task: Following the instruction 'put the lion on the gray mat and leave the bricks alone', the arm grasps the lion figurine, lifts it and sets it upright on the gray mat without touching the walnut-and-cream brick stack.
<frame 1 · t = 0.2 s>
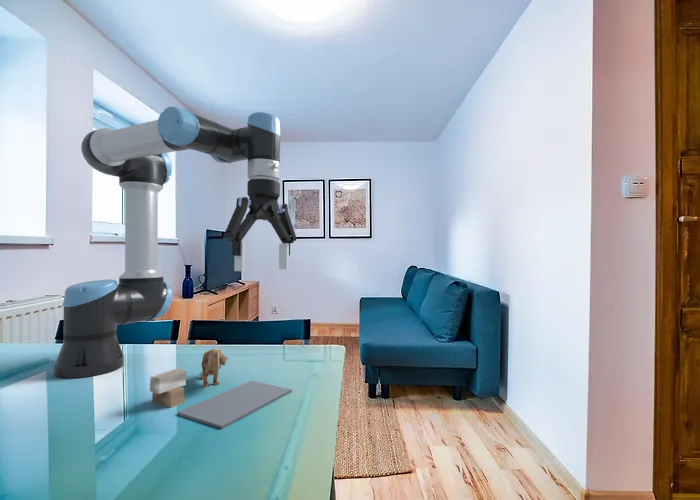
hand: (263, 270, 86), 27 cm above the table, fingers open, 13 cm apart
gray mat: (239, 402, 76), on the table
brick stack: (168, 402, 76), on the table
lion figurine: (211, 382, 88), on the table
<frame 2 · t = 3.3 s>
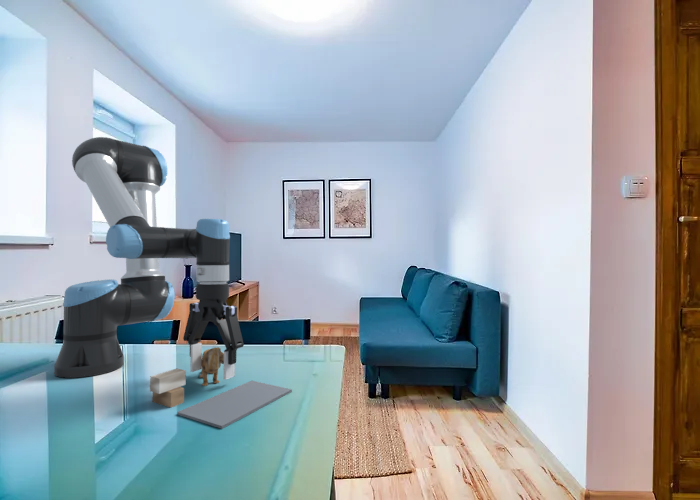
hand: (212, 373, 88), 2 cm above the table, fingers closed on lion figurine, 11 cm apart
lion figurine: (211, 380, 89), on the table, touching gripper
everything else where it was.
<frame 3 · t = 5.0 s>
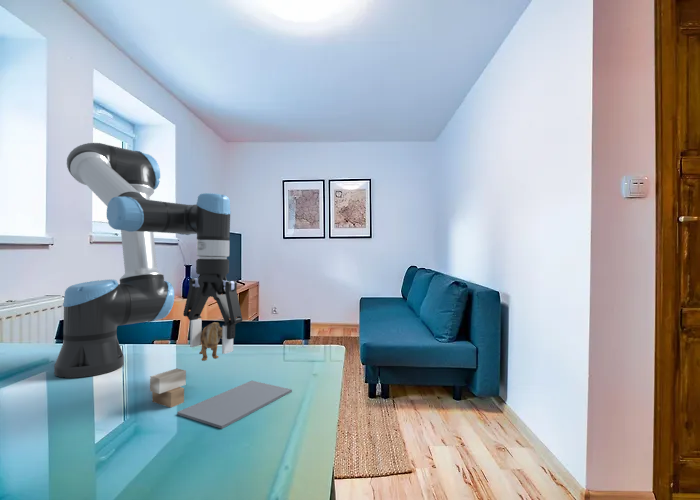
hand: (211, 349, 89), 8 cm above the table, fingers closed on lion figurine, 10 cm apart
lion figurine: (211, 356, 90), point 6 cm above the table, touching gripper
everything else where it was.
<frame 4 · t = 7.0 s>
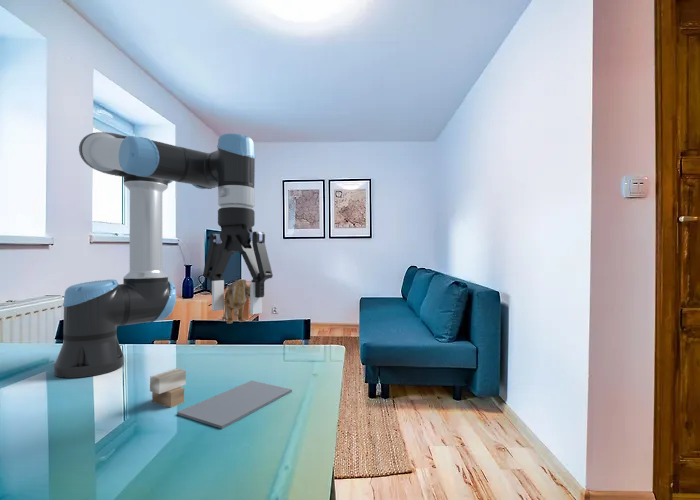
hand: (236, 311, 78), 19 cm above the table, fingers closed on lion figurine, 10 cm apart
lion figurine: (236, 321, 79), point 16 cm above the table, touching gripper
everything else where it was.
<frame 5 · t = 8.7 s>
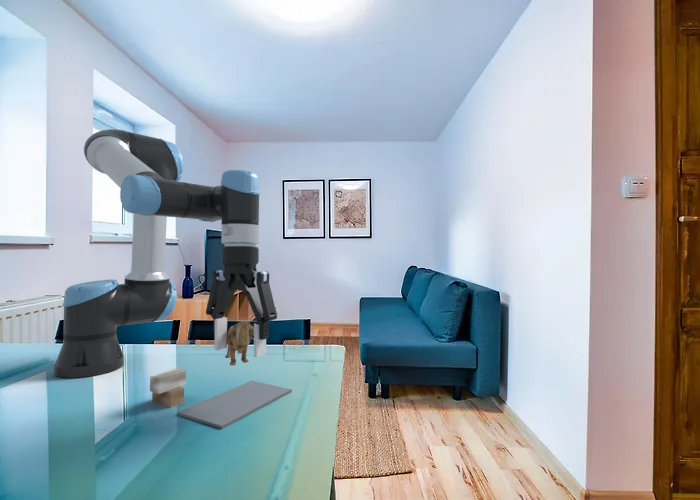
hand: (239, 351, 76), 10 cm above the table, fingers closed on lion figurine, 10 cm apart
lion figurine: (239, 360, 77), point 8 cm above the table, touching gripper
everything else where it was.
when the fingers open (4 cm above the table, at t = 10.5 s): lion figurine drops 1 cm, resting on gray mat.
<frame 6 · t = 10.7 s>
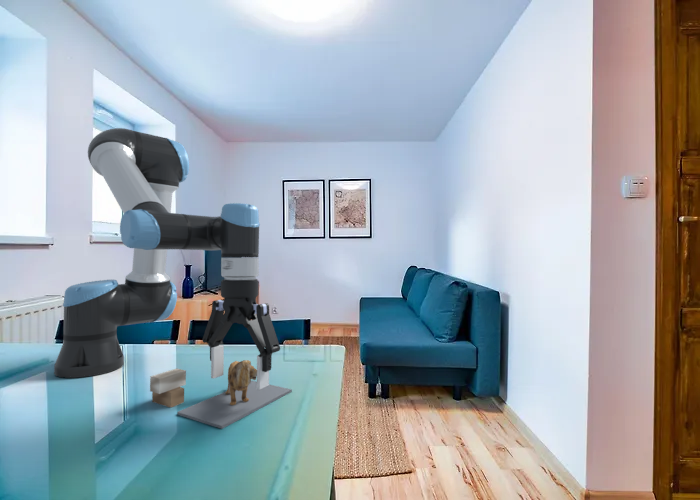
hand: (239, 381, 76), 4 cm above the table, fingers open, 12 cm apart
lion figurine: (239, 398, 77), resting on gray mat
everything else where it was.
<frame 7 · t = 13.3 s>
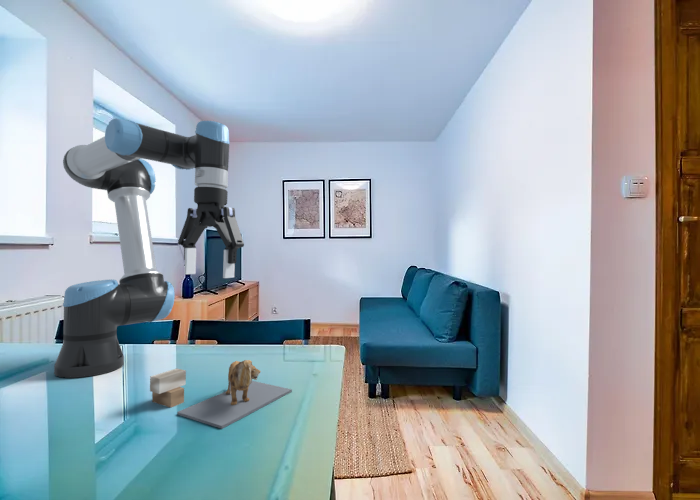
hand: (208, 276, 88), 26 cm above the table, fingers open, 13 cm apart
nothing on the table moved.
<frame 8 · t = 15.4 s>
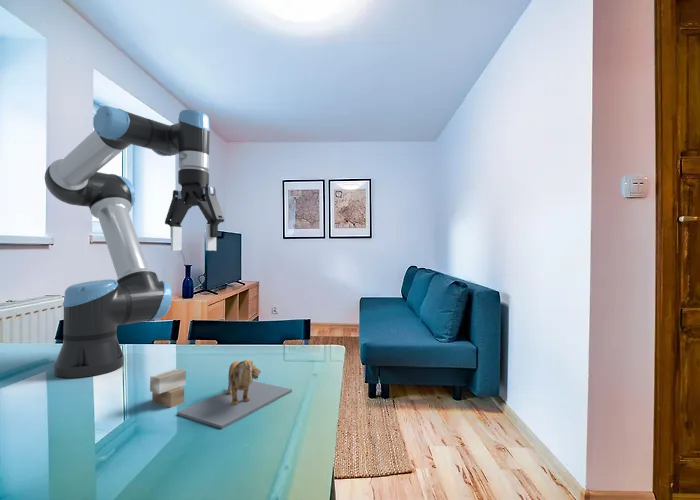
hand: (193, 250, 96), 32 cm above the table, fingers open, 13 cm apart
nothing on the table moved.
at the end: lion figurine inside the target area on the gray mat (1.4 cm from its centre), point 0.3 cm above the gray mat's base; lion figurine tilted 0°; brick stack moved 0.1 cm from its start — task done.
